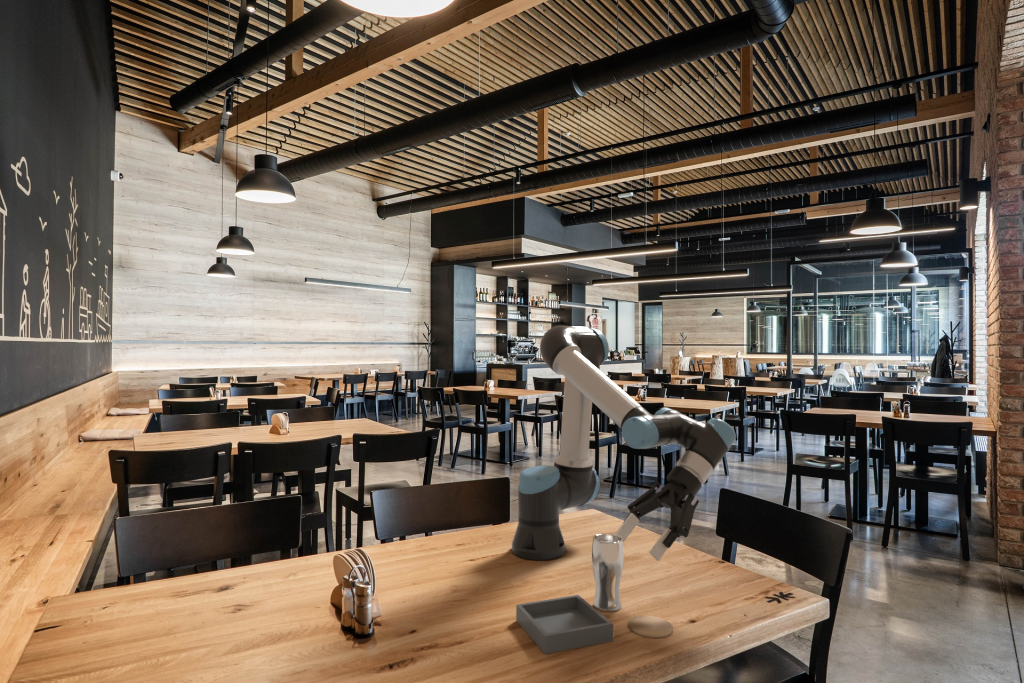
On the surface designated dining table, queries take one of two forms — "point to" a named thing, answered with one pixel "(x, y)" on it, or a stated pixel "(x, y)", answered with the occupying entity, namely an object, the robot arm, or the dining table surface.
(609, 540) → the beer glass
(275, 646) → the dining table surface
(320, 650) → the dining table surface
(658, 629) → the coaster
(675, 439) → the robot arm
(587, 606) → the tray
